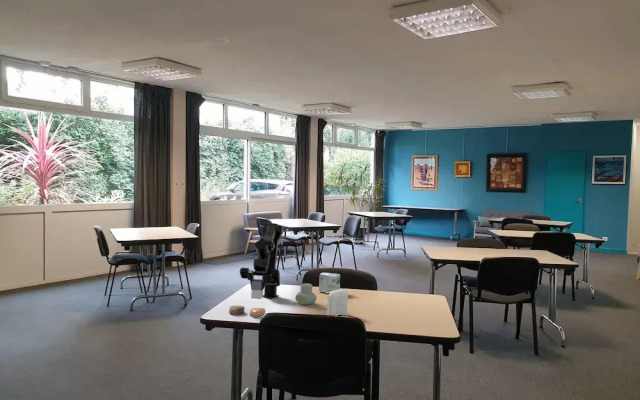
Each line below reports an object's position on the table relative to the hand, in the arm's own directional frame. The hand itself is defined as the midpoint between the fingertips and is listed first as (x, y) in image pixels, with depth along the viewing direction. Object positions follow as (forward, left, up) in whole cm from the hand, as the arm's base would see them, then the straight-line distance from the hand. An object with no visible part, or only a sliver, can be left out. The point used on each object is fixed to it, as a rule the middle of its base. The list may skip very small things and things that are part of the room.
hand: (256, 289), depth 201 cm
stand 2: (-1, 0, -12) cm, 13 cm away
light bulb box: (-59, 0, -13) cm, 61 cm away
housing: (-1, -1, -4) cm, 4 cm away
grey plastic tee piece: (-32, +4, -13) cm, 35 cm away
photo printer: (-27, +27, -13) cm, 41 cm away
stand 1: (+3, -10, -12) cm, 16 cm away
